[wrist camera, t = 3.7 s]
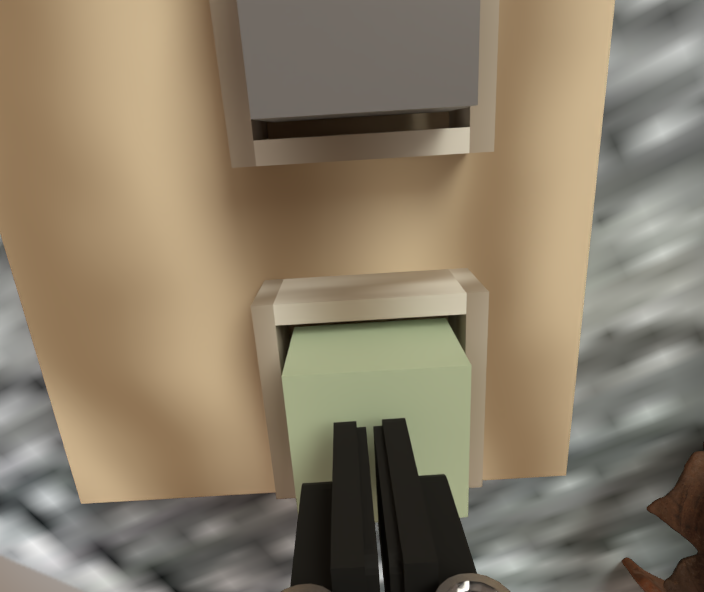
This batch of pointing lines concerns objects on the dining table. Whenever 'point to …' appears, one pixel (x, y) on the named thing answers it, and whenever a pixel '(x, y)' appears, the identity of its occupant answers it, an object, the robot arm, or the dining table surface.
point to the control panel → (285, 235)
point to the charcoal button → (358, 57)
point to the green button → (379, 396)
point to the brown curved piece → (680, 531)
